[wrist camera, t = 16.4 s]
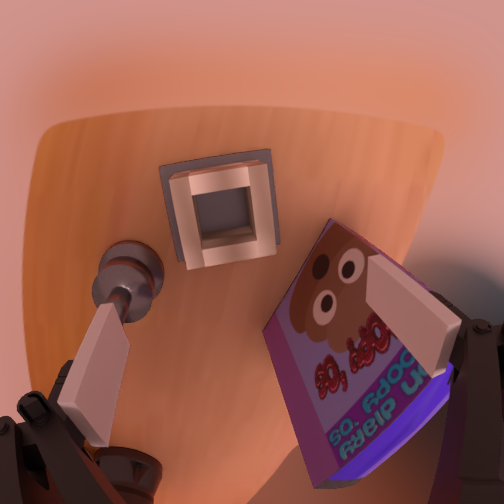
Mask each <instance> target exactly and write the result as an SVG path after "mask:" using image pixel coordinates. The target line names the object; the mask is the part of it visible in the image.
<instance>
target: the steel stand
mask: <svg viewBox="0 0 504 504" xmlns="http://www.w3.org/2000/svg"><path fill="white" fill-rule="evenodd" d="M163 279H164V268H163V265H162V262H161V260H160V258H159V256H158V255H157V254H156V252H155V251H154V250H152V249H151V248H150V247H149V246H147V245H145V244H143V243H141V242H137V241H130V240H127V241H121V242H118V243H116V244H114V245H113V246H111V247H110V248H109V249H108V250H107V251H106V253H105V254H104V255H103V257H102V259H101V261H100V264H99V274H98V275H97V277H96V278H95V280H94V282H93V286H92V296H93V300H94V302H95V304H96V306H97V308H99V306H100V305H101V304H107V303H114V306H115V309H116V311H117V314H118V316H119V319H120V322H121V324H122V327H123V324H124V323H132V322H136V321H138V320H140V319H142V318H143V317H144V316H145V315H146V314H147V313H148V311H149V310H150V307H151V303H152V300H153V299H154V298H155V297H156V296H157V295H158V294H159V292H160V290H161V288H162V284H163Z"/></svg>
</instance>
